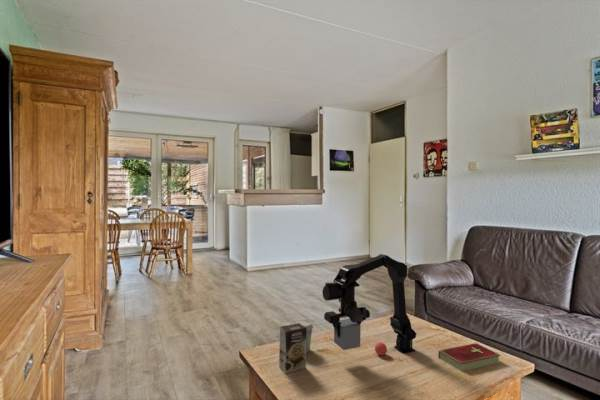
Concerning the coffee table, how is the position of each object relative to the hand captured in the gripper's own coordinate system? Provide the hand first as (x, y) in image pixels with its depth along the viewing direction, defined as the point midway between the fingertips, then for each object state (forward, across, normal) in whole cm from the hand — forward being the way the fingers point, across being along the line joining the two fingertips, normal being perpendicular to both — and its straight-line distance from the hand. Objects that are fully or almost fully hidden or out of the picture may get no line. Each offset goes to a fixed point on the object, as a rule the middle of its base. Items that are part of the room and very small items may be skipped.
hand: (347, 335), depth 136 cm
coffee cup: (+11, -12, +17) cm, 24 cm away
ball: (+8, +17, 0) cm, 19 cm away
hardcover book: (+12, +48, -18) cm, 53 cm away
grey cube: (+4, 0, 0) cm, 4 cm away
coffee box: (+11, -22, +5) cm, 25 cm away
